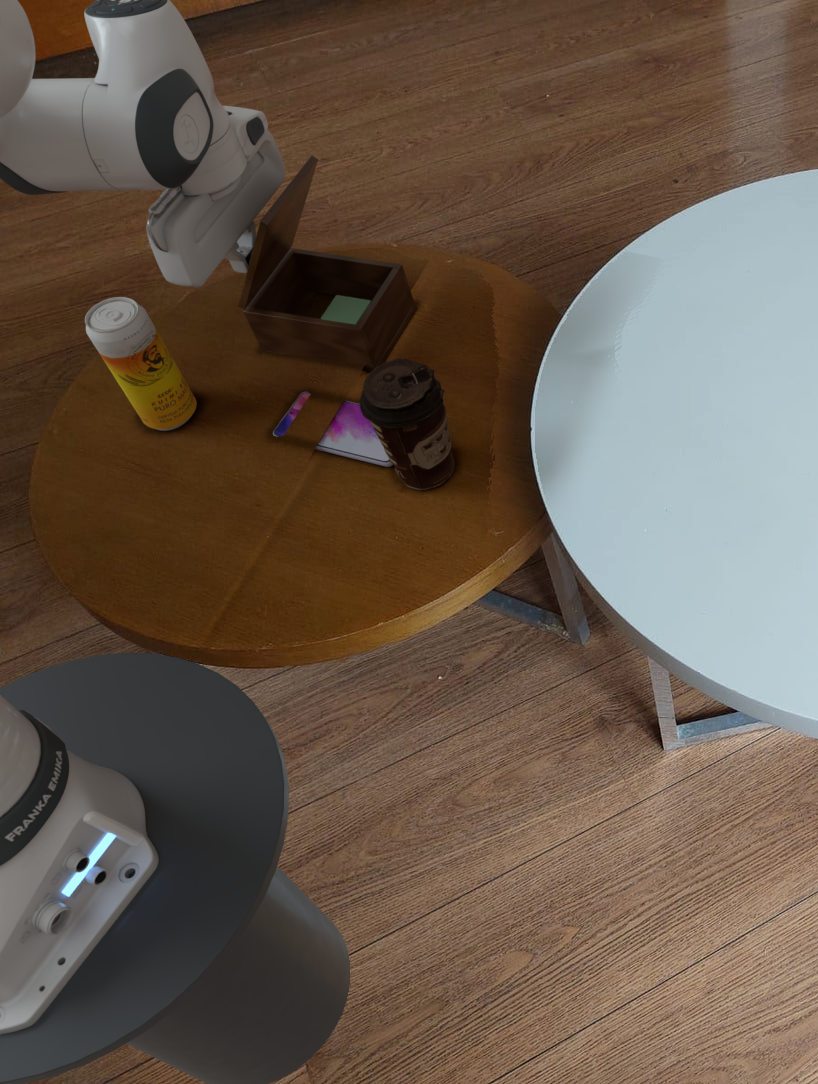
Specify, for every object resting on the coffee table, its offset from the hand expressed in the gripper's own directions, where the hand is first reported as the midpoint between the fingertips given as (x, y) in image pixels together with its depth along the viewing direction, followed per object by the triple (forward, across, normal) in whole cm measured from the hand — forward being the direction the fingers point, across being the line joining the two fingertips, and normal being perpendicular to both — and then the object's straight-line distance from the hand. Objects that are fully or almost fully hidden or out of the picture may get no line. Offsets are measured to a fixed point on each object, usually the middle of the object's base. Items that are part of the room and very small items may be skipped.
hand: (247, 264), depth 122 cm
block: (+9, +2, -11) cm, 14 cm away
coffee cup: (+12, -15, -25) cm, 31 cm away
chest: (+12, +4, -6) cm, 14 cm away
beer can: (+12, -13, +7) cm, 20 cm away
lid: (-2, +4, -3) cm, 5 cm away
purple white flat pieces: (+12, -12, -14) cm, 22 cm away
